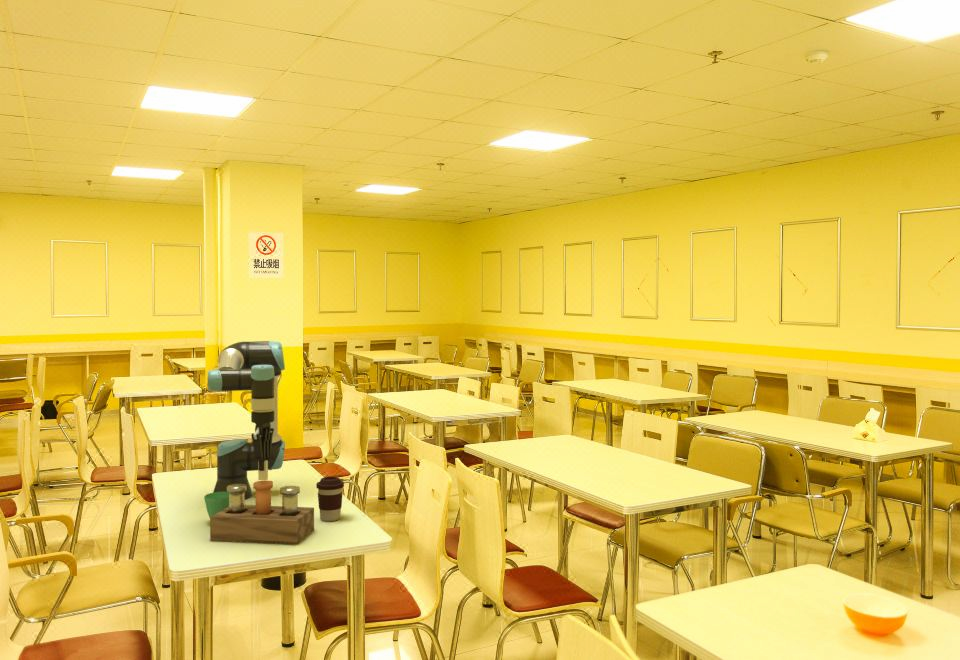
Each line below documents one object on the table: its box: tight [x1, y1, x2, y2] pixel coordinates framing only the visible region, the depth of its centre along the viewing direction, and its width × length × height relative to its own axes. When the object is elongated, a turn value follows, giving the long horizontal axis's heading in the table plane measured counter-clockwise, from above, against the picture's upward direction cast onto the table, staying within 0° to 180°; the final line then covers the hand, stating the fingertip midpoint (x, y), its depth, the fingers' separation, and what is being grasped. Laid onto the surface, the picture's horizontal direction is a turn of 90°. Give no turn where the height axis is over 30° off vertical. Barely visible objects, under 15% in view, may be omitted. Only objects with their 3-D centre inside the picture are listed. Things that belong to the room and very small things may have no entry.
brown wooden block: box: [209, 504, 315, 546], centre depth 246 cm, size 16×30×8 cm, turn 83°
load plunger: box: [252, 480, 274, 515], centre depth 245 cm, size 6×6×11 cm
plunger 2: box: [279, 485, 301, 516], centre depth 244 cm, size 6×6×11 cm
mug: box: [203, 492, 229, 519], centre depth 262 cm, size 15×10×10 cm
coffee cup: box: [315, 476, 345, 522], centre depth 265 cm, size 10×10×15 cm
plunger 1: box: [227, 484, 247, 514], centre depth 247 cm, size 6×6×11 cm
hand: (263, 479), depth 245 cm, fingers closed
